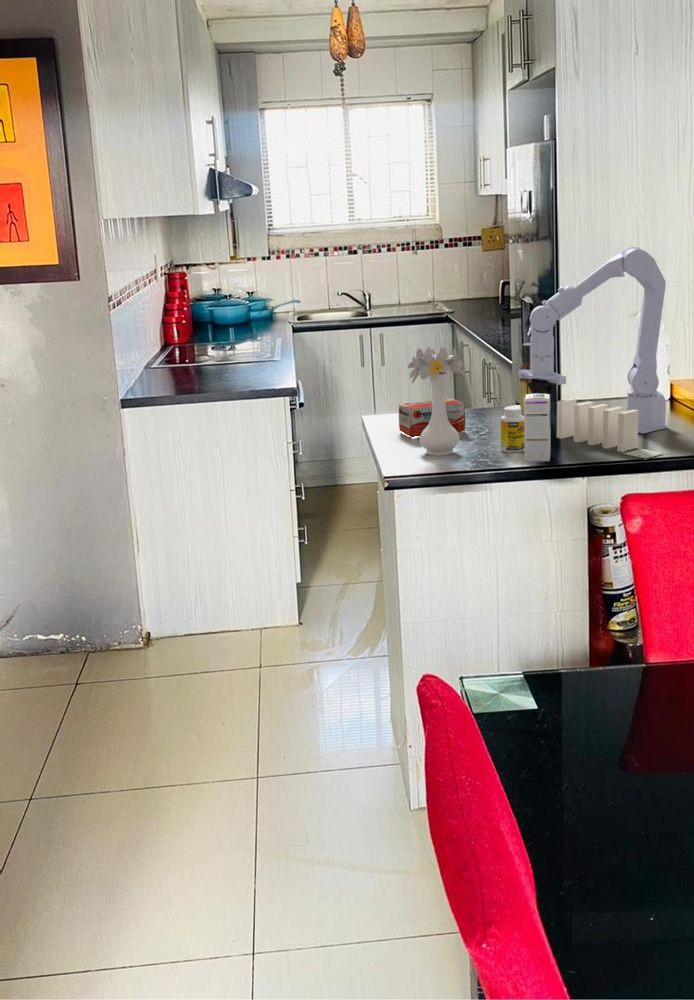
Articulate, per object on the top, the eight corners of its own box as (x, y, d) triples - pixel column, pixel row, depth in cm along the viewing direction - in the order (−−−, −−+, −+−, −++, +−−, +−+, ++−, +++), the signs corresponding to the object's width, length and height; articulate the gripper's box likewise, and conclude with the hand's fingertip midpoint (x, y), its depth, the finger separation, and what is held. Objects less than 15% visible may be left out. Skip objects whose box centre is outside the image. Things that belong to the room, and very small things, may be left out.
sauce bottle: (547, 417, 280) (548, 342, 274) (538, 422, 275) (539, 346, 269) (524, 415, 284) (525, 341, 278) (515, 420, 279) (515, 344, 273)
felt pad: (641, 450, 243) (641, 448, 243) (662, 454, 239) (662, 453, 238) (624, 454, 240) (624, 453, 240) (645, 459, 235) (645, 458, 235)
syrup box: (550, 461, 237) (550, 398, 233) (523, 461, 238) (523, 398, 234) (550, 455, 243) (551, 393, 238) (524, 455, 244) (524, 393, 240)
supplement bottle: (505, 454, 245) (505, 411, 242) (497, 449, 250) (497, 406, 247) (528, 452, 246) (528, 409, 243) (519, 446, 251) (519, 404, 248)
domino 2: (573, 441, 254) (574, 404, 252) (587, 437, 257) (588, 401, 254) (578, 442, 253) (579, 405, 250) (592, 438, 256) (593, 402, 253)
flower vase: (449, 441, 260) (447, 339, 253) (477, 458, 243) (476, 349, 235) (398, 446, 257) (395, 343, 249) (424, 464, 240) (421, 354, 232)
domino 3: (587, 444, 251) (588, 407, 248) (602, 440, 253) (603, 404, 251) (592, 445, 249) (593, 408, 247) (607, 442, 252) (608, 404, 249)
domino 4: (602, 447, 247) (603, 410, 244) (616, 444, 250) (617, 406, 247) (607, 448, 246) (608, 411, 243) (622, 445, 248) (623, 407, 246)
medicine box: (452, 427, 275) (452, 396, 273) (466, 433, 268) (465, 402, 265) (398, 433, 270) (397, 403, 268) (411, 440, 263) (410, 409, 261)
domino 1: (556, 437, 258) (557, 401, 256) (570, 434, 261) (571, 398, 259) (561, 438, 257) (562, 402, 255) (575, 435, 260) (576, 399, 257)
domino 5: (617, 451, 243) (618, 412, 241) (631, 447, 246) (633, 409, 244) (622, 452, 242) (623, 413, 240) (637, 448, 245) (638, 410, 242)
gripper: (509, 354, 264) (509, 407, 268) (551, 360, 253) (551, 416, 256) (529, 351, 268) (529, 403, 272) (572, 357, 256) (571, 411, 260)
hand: (541, 409), depth 264 cm, fingers closed
